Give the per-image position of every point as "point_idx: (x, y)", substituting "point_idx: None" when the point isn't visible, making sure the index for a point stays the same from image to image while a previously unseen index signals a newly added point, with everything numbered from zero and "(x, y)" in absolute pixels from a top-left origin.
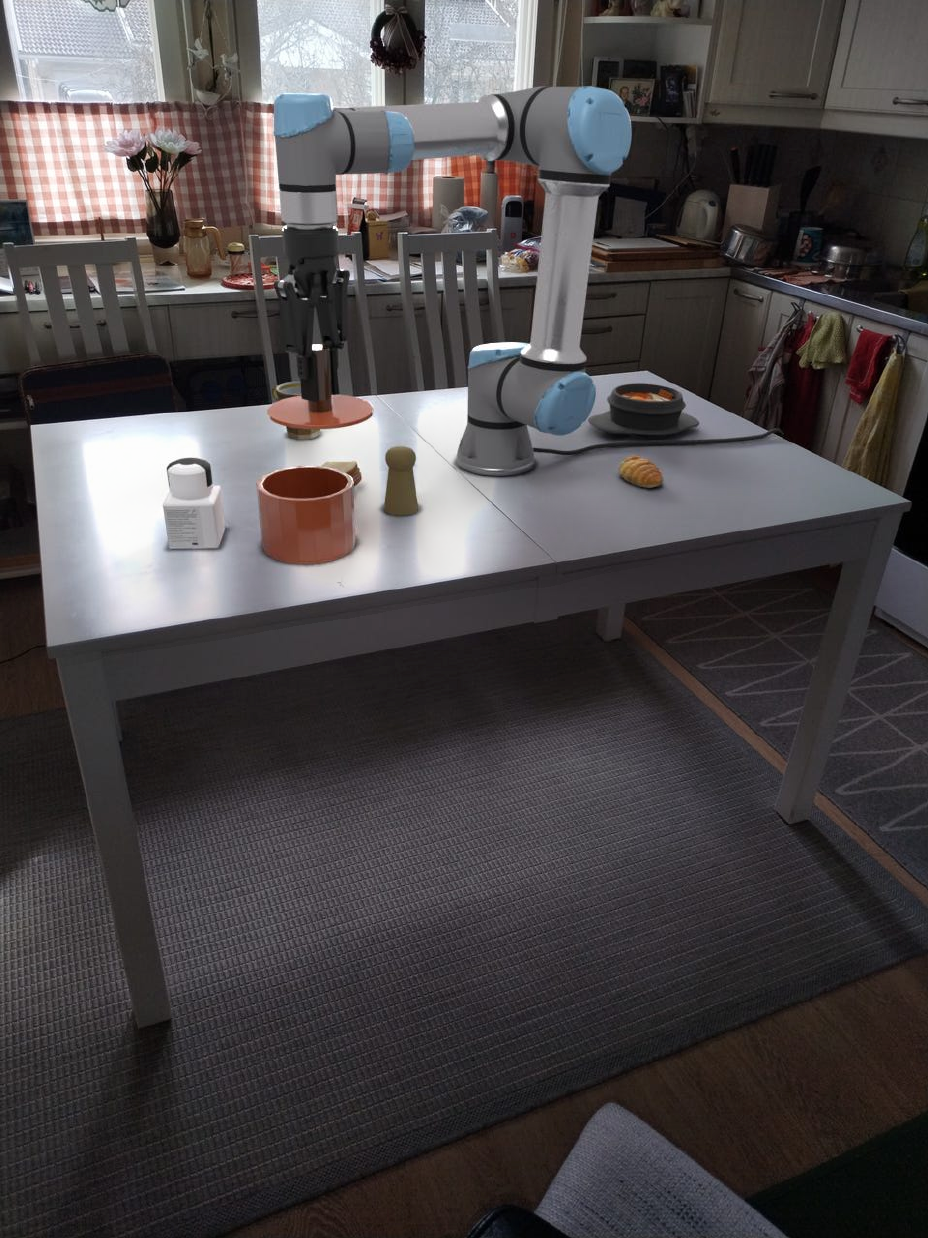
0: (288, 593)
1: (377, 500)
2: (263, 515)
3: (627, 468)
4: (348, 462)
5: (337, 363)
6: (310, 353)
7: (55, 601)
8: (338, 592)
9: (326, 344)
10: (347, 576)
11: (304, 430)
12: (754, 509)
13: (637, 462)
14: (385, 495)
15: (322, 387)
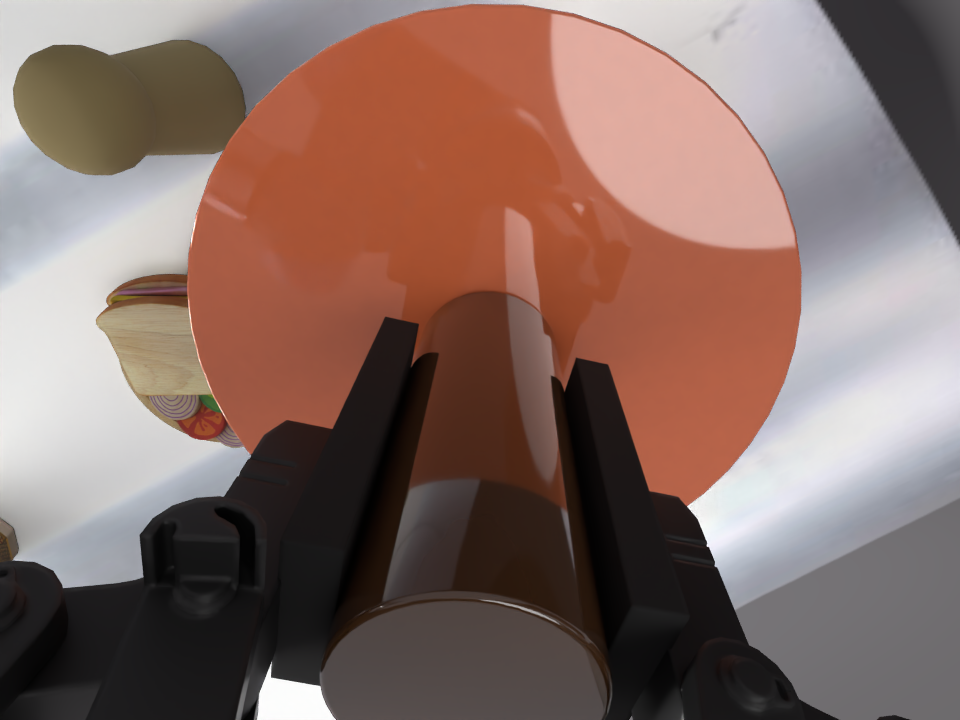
0: (805, 138)
1: (186, 194)
2: None
3: None
4: (114, 335)
5: (271, 449)
6: (742, 664)
7: (905, 524)
8: (776, 5)
9: (263, 670)
10: (673, 31)
11: None
12: None
13: None
14: (203, 148)
15: (549, 387)
